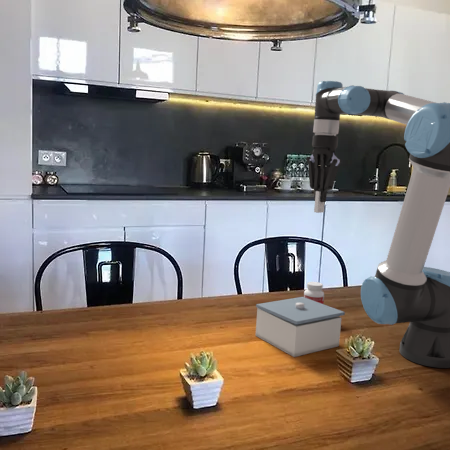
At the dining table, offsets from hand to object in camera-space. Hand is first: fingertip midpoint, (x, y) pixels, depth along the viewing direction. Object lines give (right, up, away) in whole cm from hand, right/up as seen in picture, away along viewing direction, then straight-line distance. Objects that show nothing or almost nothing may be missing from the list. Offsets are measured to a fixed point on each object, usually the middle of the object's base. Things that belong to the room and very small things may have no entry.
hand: (318, 212), depth 164 cm
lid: (-9, -27, -20) cm, 35 cm away
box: (-9, -35, -19) cm, 41 cm away
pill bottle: (-2, -33, 0) cm, 33 cm away
